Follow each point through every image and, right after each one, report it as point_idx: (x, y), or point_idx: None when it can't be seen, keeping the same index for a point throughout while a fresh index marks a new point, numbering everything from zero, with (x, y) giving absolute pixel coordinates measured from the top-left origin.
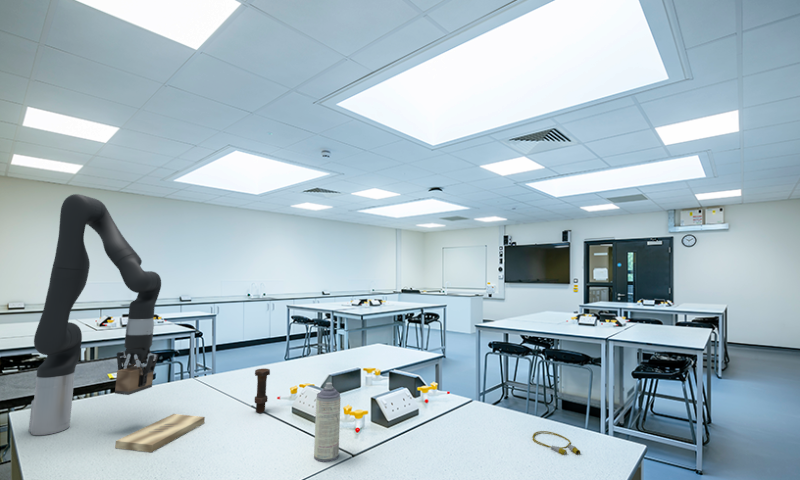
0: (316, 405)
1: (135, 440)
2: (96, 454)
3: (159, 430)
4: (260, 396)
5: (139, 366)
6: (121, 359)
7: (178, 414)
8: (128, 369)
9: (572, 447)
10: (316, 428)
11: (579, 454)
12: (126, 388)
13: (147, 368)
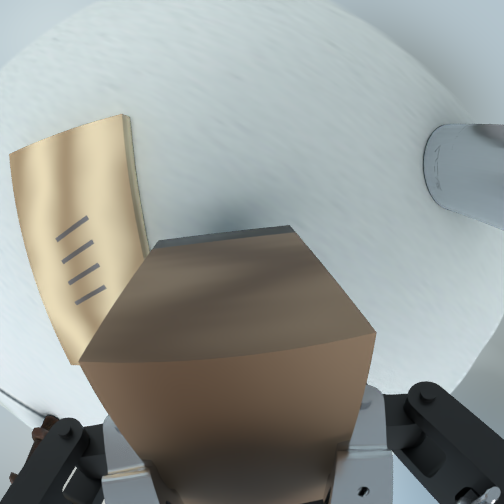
0: None
1: (66, 148)
2: (145, 66)
3: (71, 241)
4: (36, 441)
5: (112, 484)
6: (471, 478)
7: None
8: (268, 433)
9: None
10: None
11: None
12: (171, 253)
13: (48, 458)
